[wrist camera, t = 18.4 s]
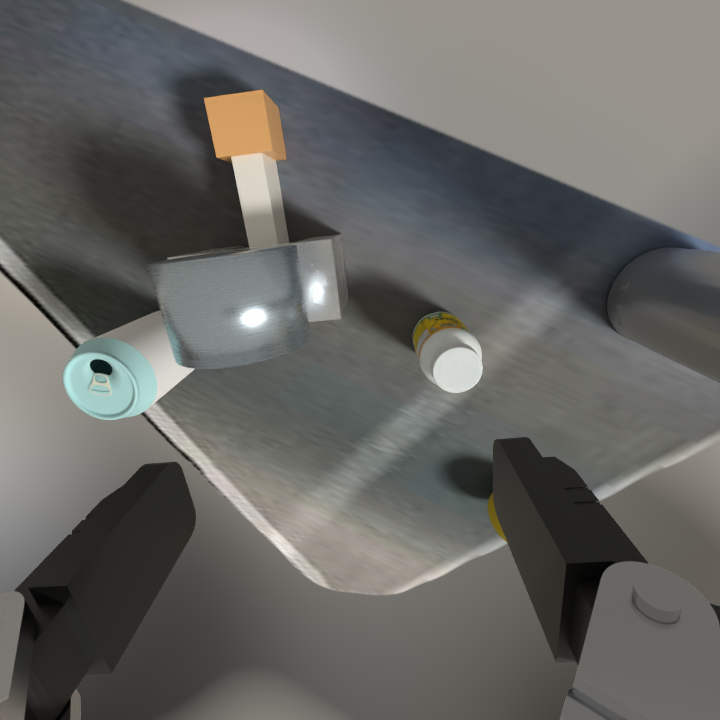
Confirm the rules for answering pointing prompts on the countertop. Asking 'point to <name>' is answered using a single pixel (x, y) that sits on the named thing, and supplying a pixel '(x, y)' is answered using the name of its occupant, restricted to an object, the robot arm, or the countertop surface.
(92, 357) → the can
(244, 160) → the plug
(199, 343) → the cylinder
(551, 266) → the countertop surface
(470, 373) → the supplement bottle
